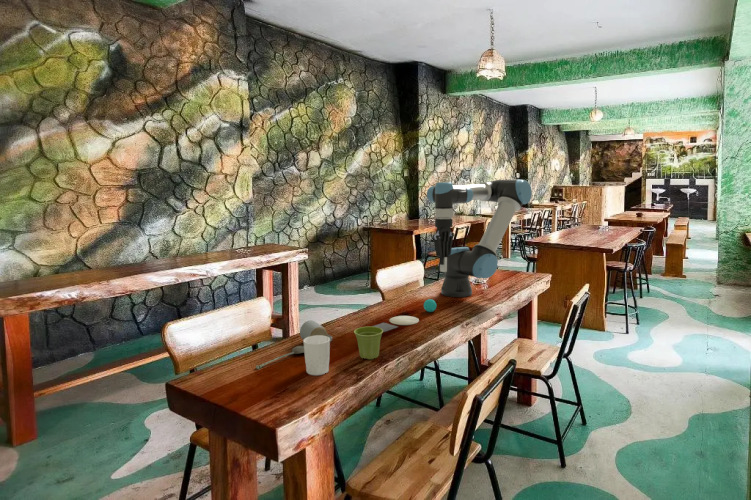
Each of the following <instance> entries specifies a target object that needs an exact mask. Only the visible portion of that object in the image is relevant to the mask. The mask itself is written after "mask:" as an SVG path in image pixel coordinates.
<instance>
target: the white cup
mask: <svg viewBox="0 0 751 500" xmlns="http://www.w3.org/2000/svg"><path fill="white" fill-rule="evenodd" d="M302 340H303V339H302ZM302 343H303V346H304V354H303V355H304V361H305V370H306V373H307V374H308V375H310V376H322V375H325V373H326V374H327V373H329V369H330V351H331V349H330V348H331V345H330V344H331V341H330V338H329V337H327V336H322V335H315V336H310V337H307V338H305V339H304V340H303V341H302Z"/></svg>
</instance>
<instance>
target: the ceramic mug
mask: <svg viewBox="0 0 751 500" xmlns="http://www.w3.org/2000/svg"><path fill="white" fill-rule="evenodd" d="M299 329H300V330H299V335H300V336H299V337H301V339H302V340H304V339H305V338H307V337H310V336H315V335H322V336H327V337H329V338H330V342H332V341H333V336H332V335H330V334H328V331H327V330H326V329H325V327H324V326H323V325H320V323H318V322H316V321H315V320H307V321H304V323H303V324H301V326H300V328H299Z"/></svg>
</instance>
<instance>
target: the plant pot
mask: <svg viewBox="0 0 751 500" xmlns="http://www.w3.org/2000/svg"><path fill="white" fill-rule="evenodd" d="M353 333H354V335H355V338H356V341H357V346H358V352H359V353H358V354H359V357H360V358H361V359H363V358H364V360H365V359H367V360H375V359H377V358H378V357H379V356H380V345H381V338H382V336H383V335H382V334H383V333H384V332H383V330H382V329H381V328H378V327H372V326H362V327H361V326H360V327H358V328H355V329H354V330H353ZM374 358H375V359H374Z"/></svg>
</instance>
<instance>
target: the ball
mask: <svg viewBox="0 0 751 500" xmlns="http://www.w3.org/2000/svg"><path fill="white" fill-rule="evenodd" d="M437 307H438V306H437V303H436V301H435V300H434V299H432V298H429V299H426V300H425V301H424V302H423V308H424V310H425V311H426V312H428V313H432V312H435V310H436V309H437Z"/></svg>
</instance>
